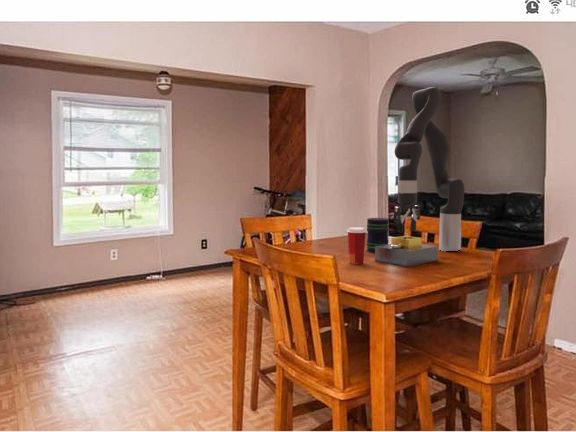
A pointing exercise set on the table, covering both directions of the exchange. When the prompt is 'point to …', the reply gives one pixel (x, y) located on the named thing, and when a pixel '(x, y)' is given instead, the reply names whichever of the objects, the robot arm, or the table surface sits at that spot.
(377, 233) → the storage jar
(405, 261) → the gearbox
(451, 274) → the table surface
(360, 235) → the paper cup
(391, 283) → the table surface
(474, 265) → the table surface
